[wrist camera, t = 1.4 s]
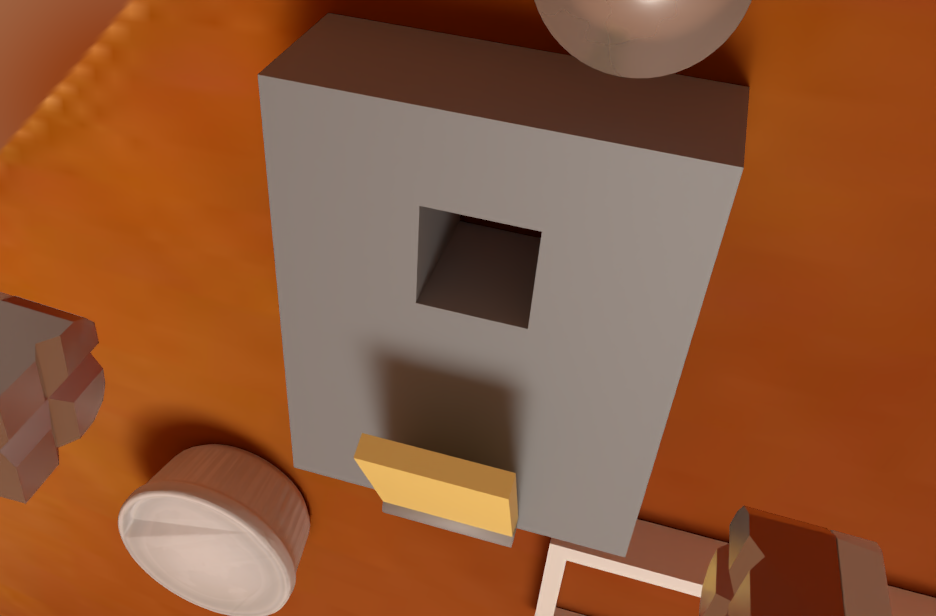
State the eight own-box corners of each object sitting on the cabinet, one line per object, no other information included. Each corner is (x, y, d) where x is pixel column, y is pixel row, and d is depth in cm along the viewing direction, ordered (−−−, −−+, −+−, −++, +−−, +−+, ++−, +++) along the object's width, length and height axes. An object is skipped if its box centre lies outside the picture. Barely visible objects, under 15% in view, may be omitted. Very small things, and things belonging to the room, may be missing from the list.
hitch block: (749, 87, 31) (743, 167, 27) (641, 459, 44) (625, 557, 39) (328, 12, 34) (257, 74, 29) (341, 384, 46) (293, 467, 42)
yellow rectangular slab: (515, 471, 32) (506, 508, 32) (518, 519, 40) (511, 549, 39) (362, 431, 33) (350, 466, 33) (394, 486, 41) (385, 514, 41)
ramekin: (206, 399, 51) (157, 466, 47) (358, 508, 53) (324, 581, 49) (138, 476, 58) (90, 540, 54) (275, 570, 60) (239, 638, 56)
